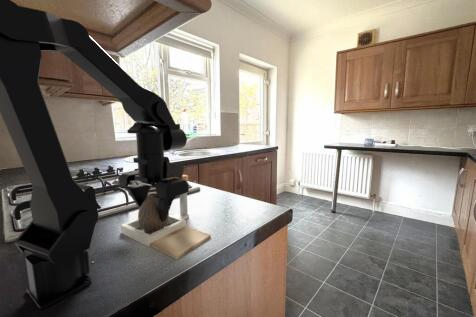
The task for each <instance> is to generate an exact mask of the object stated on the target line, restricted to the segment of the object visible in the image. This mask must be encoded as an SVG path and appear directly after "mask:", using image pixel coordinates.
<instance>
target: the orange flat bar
mask: <svg viewBox="0 0 476 317" xmlns="http://www.w3.org/2000/svg"><path fill="white" fill-rule="evenodd" d="M173 178H178V177H171V178H169V179H173ZM169 179H168V180H169ZM178 179H180V178H178ZM182 179H183V180H186V181H187V182H189V175H187V174H183V176H182Z"/></svg>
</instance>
